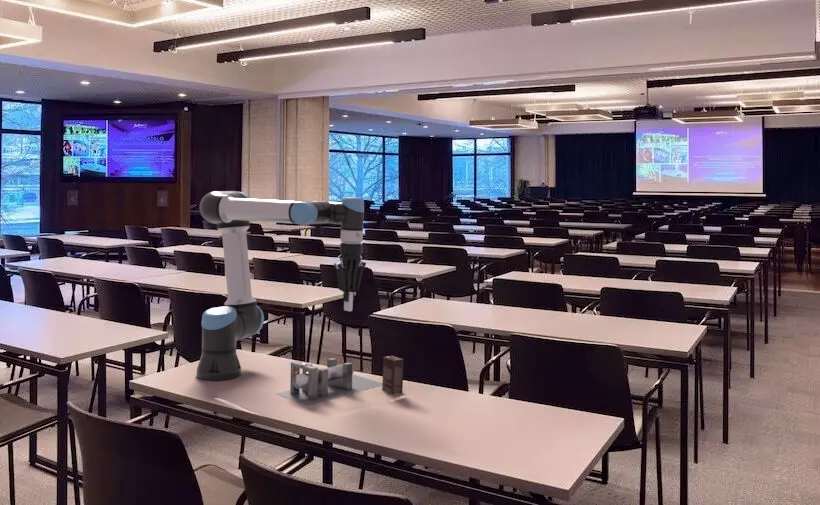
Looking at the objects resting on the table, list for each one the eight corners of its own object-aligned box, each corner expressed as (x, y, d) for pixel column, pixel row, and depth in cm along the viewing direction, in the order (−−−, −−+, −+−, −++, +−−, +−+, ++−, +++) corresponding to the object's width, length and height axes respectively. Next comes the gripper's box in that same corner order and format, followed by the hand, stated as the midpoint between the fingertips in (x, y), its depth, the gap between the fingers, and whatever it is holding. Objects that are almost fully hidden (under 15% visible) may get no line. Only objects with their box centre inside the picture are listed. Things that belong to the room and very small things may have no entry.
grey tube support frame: (326, 384, 230) (327, 359, 229) (332, 383, 232) (332, 357, 231) (346, 391, 224) (347, 364, 223) (352, 389, 225) (352, 363, 224)
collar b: (302, 390, 222) (302, 364, 222) (307, 389, 224) (308, 363, 223) (321, 397, 216) (322, 370, 215) (327, 396, 218) (328, 369, 217)
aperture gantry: (290, 393, 219) (290, 361, 218) (296, 391, 221) (296, 360, 220) (311, 400, 212) (312, 367, 211) (317, 399, 214) (318, 366, 213)
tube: (292, 387, 216) (292, 373, 216) (344, 374, 232) (344, 361, 232) (301, 390, 213) (301, 376, 212) (353, 377, 229) (353, 364, 229)
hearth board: (275, 396, 218) (275, 393, 218) (353, 376, 243) (353, 374, 243) (307, 408, 208) (307, 405, 208) (385, 386, 233) (385, 384, 233)
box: (403, 394, 224) (404, 358, 223) (392, 397, 221) (393, 360, 220) (392, 390, 229) (393, 355, 228) (381, 392, 226) (382, 356, 225)
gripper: (344, 244, 226) (341, 314, 228) (372, 243, 235) (369, 310, 238) (329, 241, 231) (326, 310, 233) (357, 240, 240) (354, 306, 243)
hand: (348, 310), depth 235 cm, fingers closed
